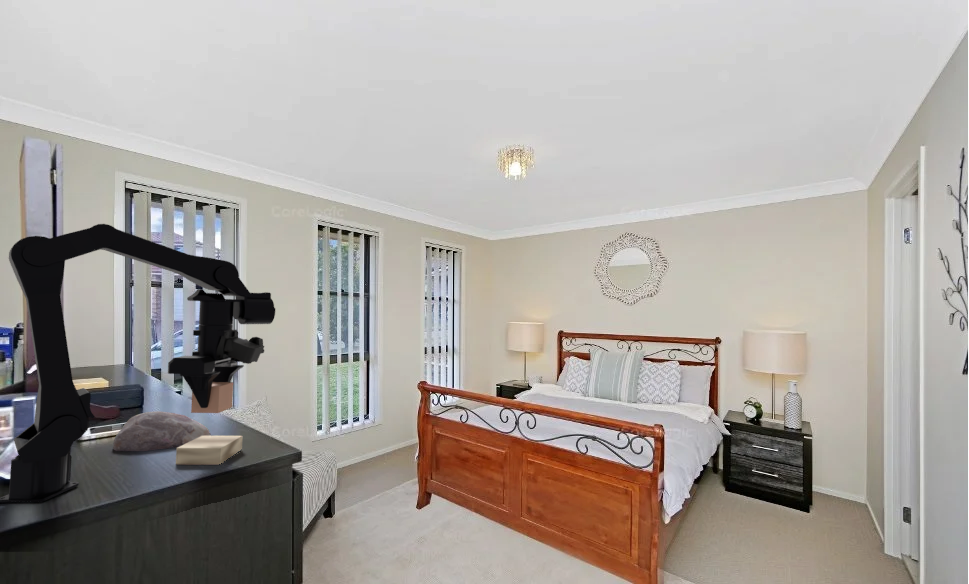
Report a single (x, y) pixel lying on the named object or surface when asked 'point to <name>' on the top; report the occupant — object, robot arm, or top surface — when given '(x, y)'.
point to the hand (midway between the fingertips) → (212, 404)
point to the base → (208, 450)
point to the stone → (157, 432)
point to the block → (216, 399)
